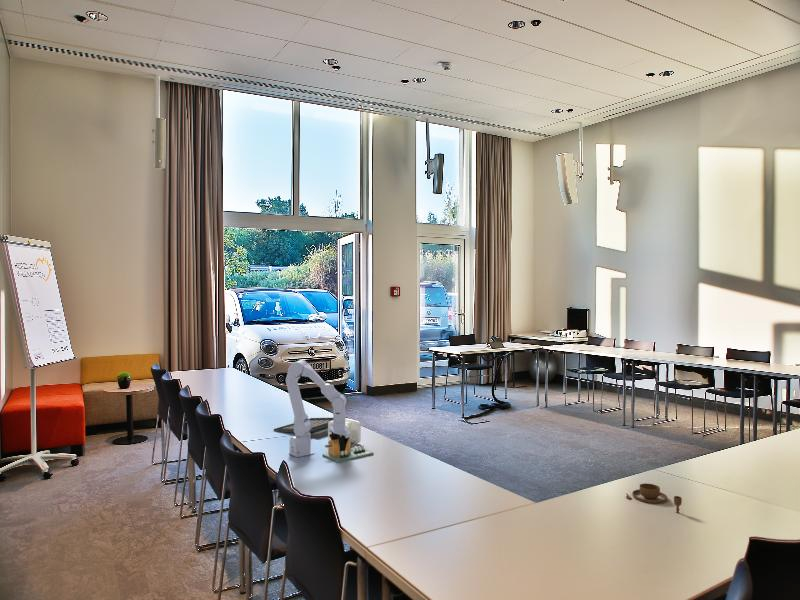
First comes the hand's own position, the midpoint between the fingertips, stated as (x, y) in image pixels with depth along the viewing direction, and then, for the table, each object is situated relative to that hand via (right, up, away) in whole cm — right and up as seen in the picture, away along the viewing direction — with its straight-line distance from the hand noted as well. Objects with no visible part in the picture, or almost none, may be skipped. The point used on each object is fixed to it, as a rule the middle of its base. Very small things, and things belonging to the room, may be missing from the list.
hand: (339, 450), depth 265 cm
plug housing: (-1, -1, -1) cm, 2 cm away
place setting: (+121, -4, -59) cm, 134 cm away
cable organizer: (0, -2, +20) cm, 20 cm away
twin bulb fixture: (+3, -3, -7) cm, 8 cm away
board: (+4, -2, 0) cm, 5 cm away
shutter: (-19, -3, +52) cm, 55 cm away
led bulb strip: (+9, -2, +1) cm, 10 cm away
